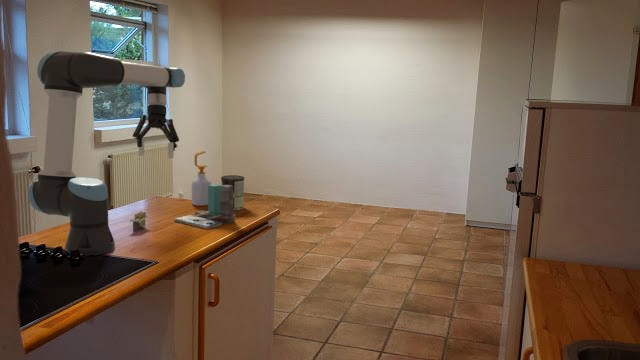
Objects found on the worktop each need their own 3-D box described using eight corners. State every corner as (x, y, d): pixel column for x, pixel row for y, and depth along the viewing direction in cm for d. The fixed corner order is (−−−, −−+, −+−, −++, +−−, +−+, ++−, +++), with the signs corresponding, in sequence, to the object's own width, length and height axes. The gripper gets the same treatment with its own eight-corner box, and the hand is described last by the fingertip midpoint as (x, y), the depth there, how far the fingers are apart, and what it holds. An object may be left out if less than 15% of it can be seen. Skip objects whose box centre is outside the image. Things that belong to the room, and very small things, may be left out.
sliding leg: (200, 219, 224) (200, 189, 222) (192, 217, 227) (191, 187, 225) (223, 213, 234) (223, 185, 232) (214, 212, 237) (214, 183, 235)
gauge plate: (207, 229, 218) (207, 225, 217) (174, 221, 229) (174, 217, 228) (222, 225, 224) (222, 222, 224) (189, 217, 235) (189, 214, 235)
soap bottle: (213, 205, 260) (213, 152, 256) (193, 206, 257) (192, 152, 253) (209, 201, 268) (209, 149, 264) (190, 202, 265) (189, 150, 261)
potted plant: (165, 225, 223) (164, 209, 222) (144, 237, 206) (144, 219, 205) (136, 223, 225) (135, 207, 224) (113, 235, 207) (113, 217, 206)
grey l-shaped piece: (213, 227, 220) (213, 189, 218) (180, 219, 231) (180, 183, 229) (235, 222, 230) (235, 185, 228) (203, 214, 241) (203, 180, 239)
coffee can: (222, 210, 250) (222, 179, 248) (219, 205, 260) (219, 175, 257) (246, 209, 253) (246, 178, 251) (242, 205, 263) (242, 175, 260)
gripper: (177, 111, 245) (177, 160, 243) (124, 102, 226) (123, 155, 225) (187, 108, 240) (187, 158, 238) (134, 99, 221) (133, 153, 220)
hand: (156, 157), depth 231 cm, fingers open, 13 cm apart
